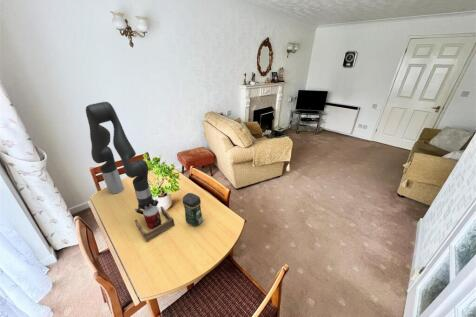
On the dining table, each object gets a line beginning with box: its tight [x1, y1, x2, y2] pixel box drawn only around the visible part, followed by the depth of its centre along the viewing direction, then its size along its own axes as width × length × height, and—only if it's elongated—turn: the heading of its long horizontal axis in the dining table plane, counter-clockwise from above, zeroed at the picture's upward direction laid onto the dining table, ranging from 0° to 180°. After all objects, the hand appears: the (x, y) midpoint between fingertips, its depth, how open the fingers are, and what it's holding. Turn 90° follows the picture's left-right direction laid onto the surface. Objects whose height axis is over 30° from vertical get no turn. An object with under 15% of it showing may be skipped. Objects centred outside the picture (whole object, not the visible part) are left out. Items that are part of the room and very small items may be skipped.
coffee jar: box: [182, 192, 204, 227], centre depth 111 cm, size 10×8×19 cm
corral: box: [134, 206, 175, 243], centre depth 111 cm, size 14×16×5 cm
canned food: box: [142, 206, 162, 230], centre depth 110 cm, size 8×8×11 cm
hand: (150, 217), depth 115 cm, fingers closed
